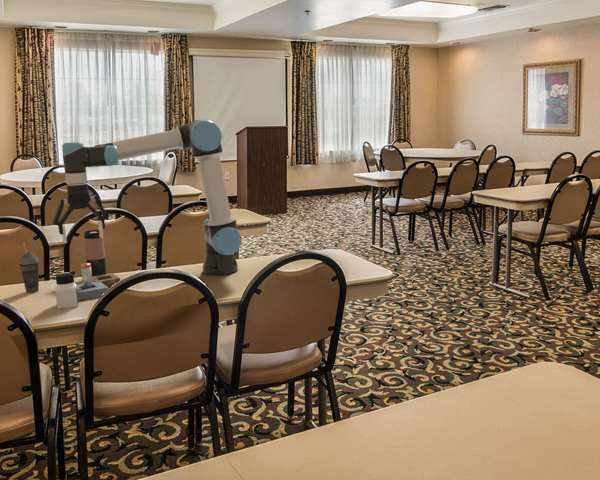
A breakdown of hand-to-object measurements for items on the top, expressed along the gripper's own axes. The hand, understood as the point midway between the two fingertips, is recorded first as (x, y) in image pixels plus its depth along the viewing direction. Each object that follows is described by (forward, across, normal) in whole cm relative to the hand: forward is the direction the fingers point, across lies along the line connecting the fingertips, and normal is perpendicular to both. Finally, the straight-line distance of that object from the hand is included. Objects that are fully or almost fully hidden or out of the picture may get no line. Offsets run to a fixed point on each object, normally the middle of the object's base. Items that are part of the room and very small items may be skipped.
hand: (83, 240), depth 237 cm
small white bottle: (+21, 0, 0) cm, 21 cm away
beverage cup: (+21, +18, -19) cm, 34 cm away
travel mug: (+22, -10, -24) cm, 34 cm away
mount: (+21, -8, -10) cm, 25 cm away
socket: (+21, 0, 0) cm, 21 cm away
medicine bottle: (+22, +10, +10) cm, 26 cm away
